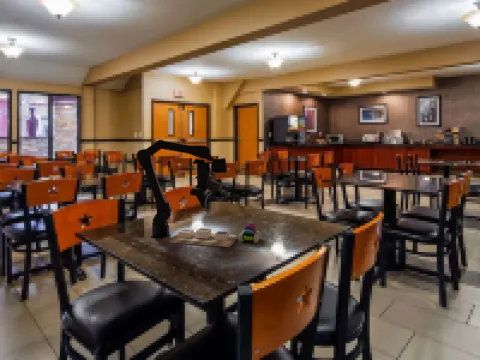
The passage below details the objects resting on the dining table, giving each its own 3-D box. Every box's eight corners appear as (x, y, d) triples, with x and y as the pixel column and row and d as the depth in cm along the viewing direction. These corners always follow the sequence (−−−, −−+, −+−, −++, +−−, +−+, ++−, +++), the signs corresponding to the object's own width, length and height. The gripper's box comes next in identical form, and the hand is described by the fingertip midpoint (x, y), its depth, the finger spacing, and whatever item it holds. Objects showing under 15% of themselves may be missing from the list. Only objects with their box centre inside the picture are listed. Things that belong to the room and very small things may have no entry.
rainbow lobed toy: (262, 238, 151) (262, 222, 150) (257, 245, 142) (257, 227, 141) (243, 236, 153) (243, 220, 152) (237, 243, 144) (237, 226, 143)
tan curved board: (169, 242, 144) (169, 239, 144) (180, 234, 156) (180, 231, 156) (229, 247, 139) (229, 243, 139) (236, 238, 150) (236, 235, 150)
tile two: (196, 237, 145) (196, 230, 145) (200, 234, 150) (200, 227, 150) (207, 238, 144) (207, 231, 144) (211, 235, 149) (211, 228, 149)
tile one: (178, 238, 147) (178, 231, 147) (183, 235, 152) (182, 228, 152) (189, 239, 146) (189, 232, 146) (193, 236, 151) (193, 229, 151)
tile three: (214, 241, 144) (214, 234, 143) (218, 237, 149) (217, 230, 148) (226, 242, 143) (226, 234, 142) (229, 238, 147) (229, 231, 147)
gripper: (214, 176, 142) (214, 213, 144) (226, 172, 161) (226, 205, 163) (189, 175, 145) (189, 212, 147) (203, 171, 163) (203, 203, 165)
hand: (203, 208), depth 155 cm, fingers closed
